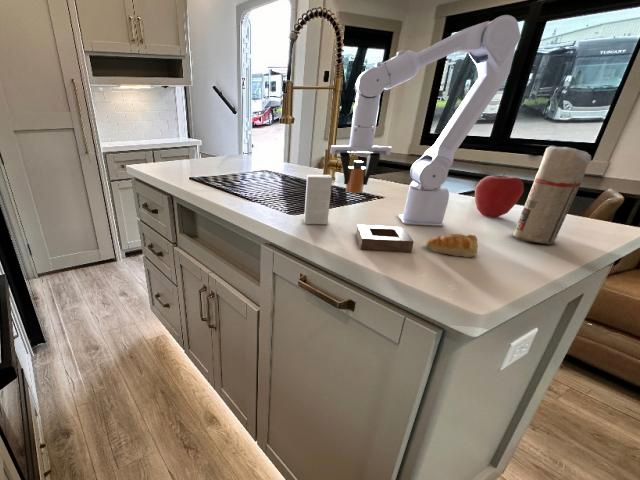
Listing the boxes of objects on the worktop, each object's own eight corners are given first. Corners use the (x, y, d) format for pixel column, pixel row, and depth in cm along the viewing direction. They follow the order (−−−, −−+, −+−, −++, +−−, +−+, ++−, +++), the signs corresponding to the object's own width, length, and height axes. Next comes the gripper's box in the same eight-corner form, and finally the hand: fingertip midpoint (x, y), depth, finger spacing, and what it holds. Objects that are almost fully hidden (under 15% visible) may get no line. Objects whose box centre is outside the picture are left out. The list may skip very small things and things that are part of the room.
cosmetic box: (325, 220, 98) (330, 174, 92) (327, 225, 94) (333, 177, 88) (303, 219, 98) (307, 174, 92) (304, 224, 94) (308, 177, 89)
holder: (401, 237, 85) (403, 226, 84) (411, 252, 76) (413, 241, 75) (355, 234, 87) (357, 224, 86) (360, 249, 78) (362, 238, 77)
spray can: (515, 231, 89) (549, 144, 79) (557, 239, 84) (598, 146, 74) (507, 239, 83) (541, 146, 74) (551, 248, 78) (594, 149, 69)
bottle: (361, 189, 97) (366, 160, 93) (363, 193, 93) (368, 162, 90) (345, 189, 98) (348, 160, 94) (346, 192, 94) (350, 162, 90)
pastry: (428, 254, 75) (433, 237, 73) (421, 244, 81) (425, 227, 79) (478, 258, 73) (484, 240, 71) (467, 247, 79) (472, 230, 77)
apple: (515, 215, 102) (531, 172, 97) (510, 223, 95) (527, 177, 90) (472, 208, 109) (484, 168, 103) (464, 216, 101) (477, 172, 96)
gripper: (391, 126, 90) (381, 182, 97) (332, 125, 93) (327, 180, 99) (397, 127, 84) (385, 187, 91) (333, 127, 87) (327, 185, 93)
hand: (355, 183), depth 95 cm, fingers closed on bottle, 4 cm apart
